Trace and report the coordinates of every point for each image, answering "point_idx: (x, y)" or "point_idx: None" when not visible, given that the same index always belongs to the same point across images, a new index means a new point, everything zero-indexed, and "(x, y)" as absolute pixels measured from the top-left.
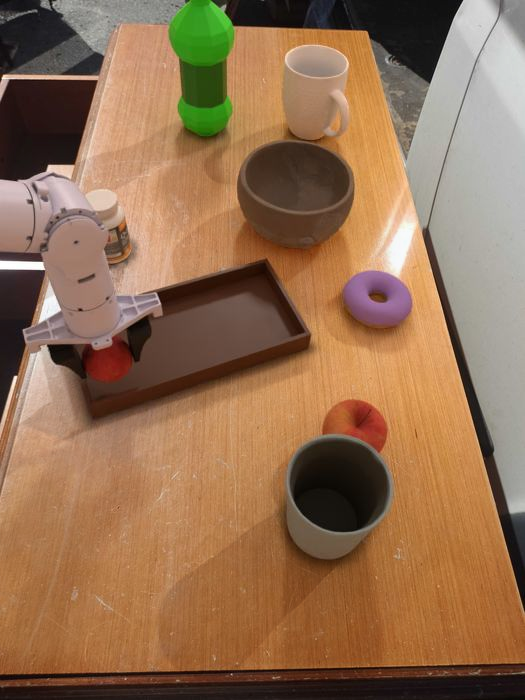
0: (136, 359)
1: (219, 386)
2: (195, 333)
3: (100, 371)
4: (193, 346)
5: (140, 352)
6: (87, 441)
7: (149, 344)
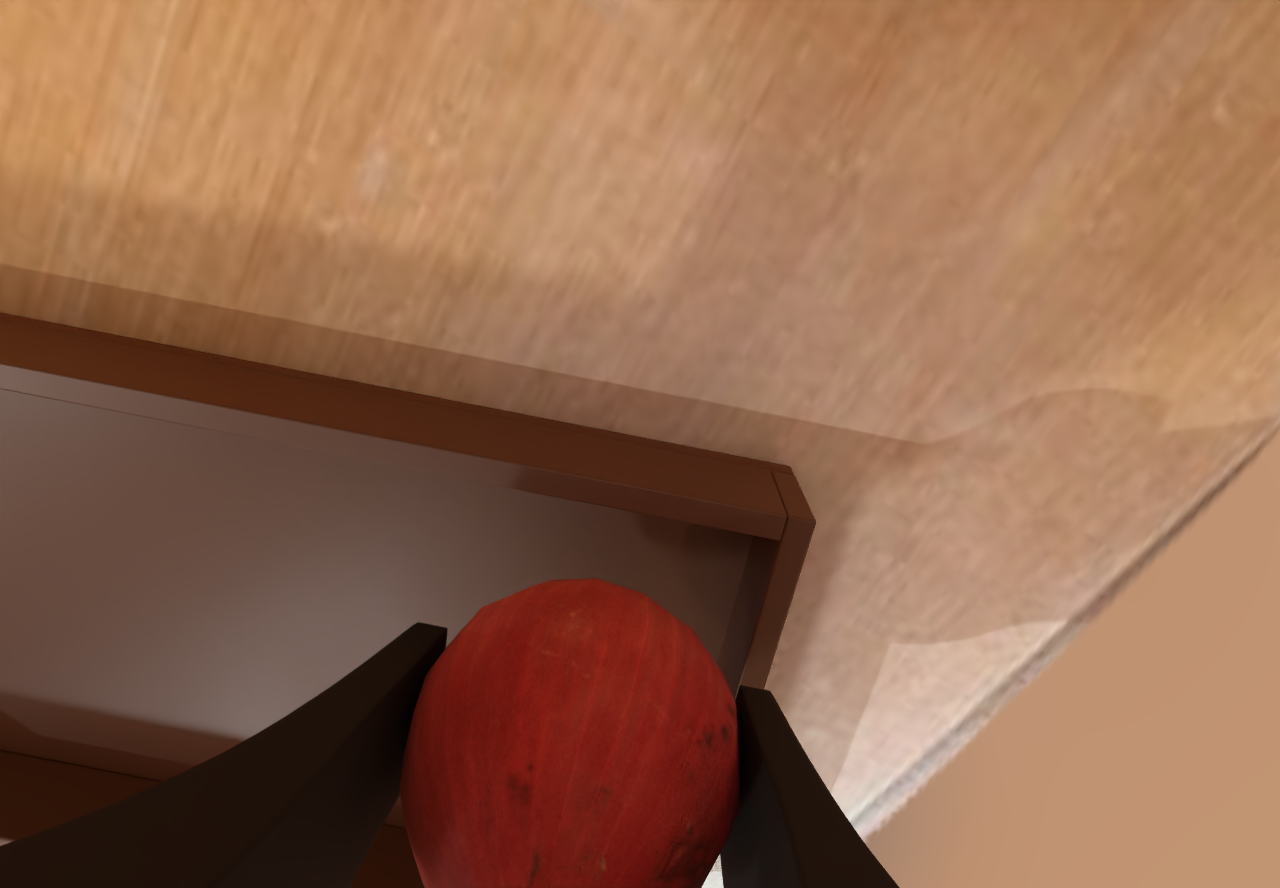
0: (414, 645)
1: (156, 293)
2: (169, 608)
3: (664, 703)
4: (200, 555)
5: (335, 686)
6: (871, 376)
7: None
